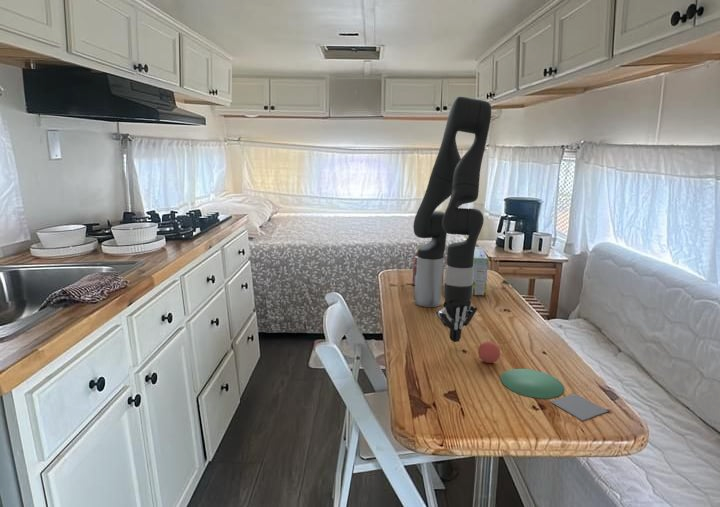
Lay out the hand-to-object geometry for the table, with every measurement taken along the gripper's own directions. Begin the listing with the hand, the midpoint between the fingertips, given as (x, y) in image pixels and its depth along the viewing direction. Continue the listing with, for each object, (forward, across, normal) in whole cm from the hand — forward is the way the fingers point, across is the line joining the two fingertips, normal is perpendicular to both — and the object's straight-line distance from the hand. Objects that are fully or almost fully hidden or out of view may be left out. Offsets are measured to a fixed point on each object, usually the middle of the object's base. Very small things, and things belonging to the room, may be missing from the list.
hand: (454, 340), depth 128 cm
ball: (-1, -2, +12) cm, 12 cm away
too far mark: (+2, -4, +37) cm, 37 cm away
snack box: (+2, -44, -42) cm, 61 cm away
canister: (+2, -29, -54) cm, 61 cm away
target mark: (+2, -3, +25) cm, 25 cm away
